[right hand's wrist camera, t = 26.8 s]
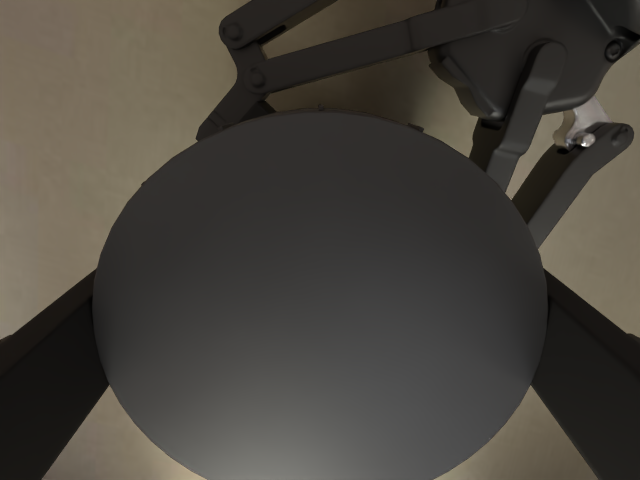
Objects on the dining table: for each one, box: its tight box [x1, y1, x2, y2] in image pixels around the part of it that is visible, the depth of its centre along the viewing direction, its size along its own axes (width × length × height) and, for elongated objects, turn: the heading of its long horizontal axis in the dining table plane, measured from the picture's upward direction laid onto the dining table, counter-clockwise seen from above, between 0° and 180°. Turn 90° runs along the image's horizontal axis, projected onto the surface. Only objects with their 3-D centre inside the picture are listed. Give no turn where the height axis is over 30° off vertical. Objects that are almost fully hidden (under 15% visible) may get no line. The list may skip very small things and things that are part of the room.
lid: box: [92, 105, 548, 480], centre depth 11 cm, size 12×12×2 cm
